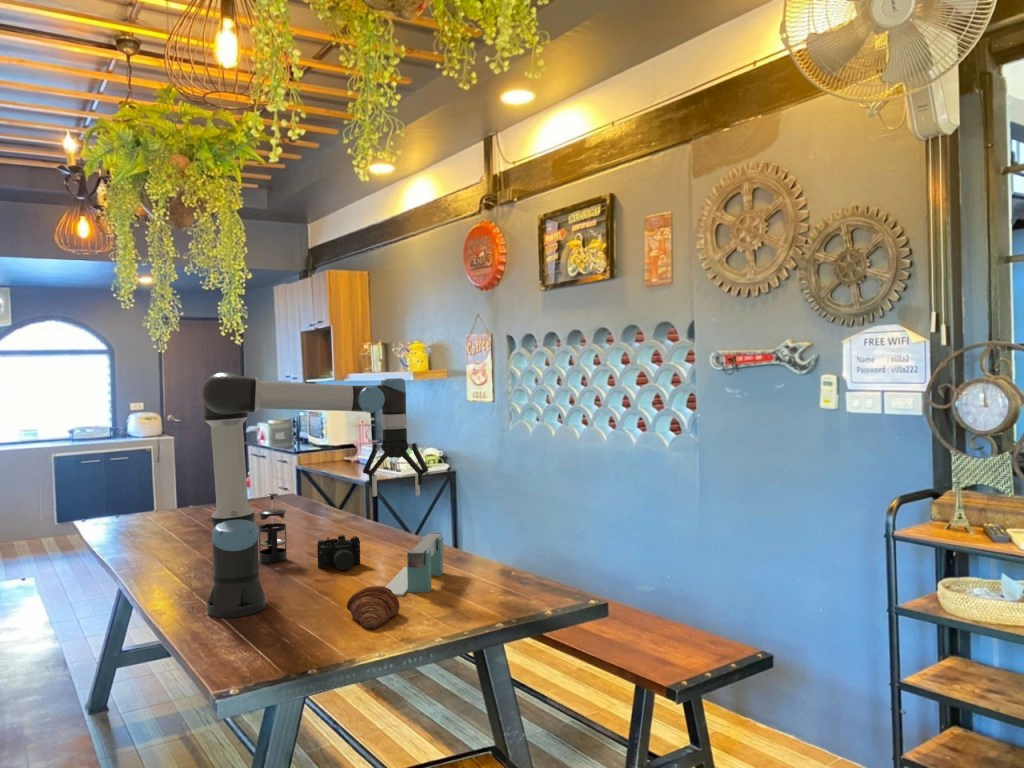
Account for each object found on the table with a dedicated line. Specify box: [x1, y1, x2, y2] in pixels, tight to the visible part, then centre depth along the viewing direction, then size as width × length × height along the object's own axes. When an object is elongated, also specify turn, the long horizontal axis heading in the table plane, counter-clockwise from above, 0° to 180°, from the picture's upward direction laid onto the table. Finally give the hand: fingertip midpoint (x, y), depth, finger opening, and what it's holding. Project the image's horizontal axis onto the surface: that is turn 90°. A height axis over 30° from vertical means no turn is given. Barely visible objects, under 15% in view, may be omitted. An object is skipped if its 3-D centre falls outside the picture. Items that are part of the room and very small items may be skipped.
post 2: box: [420, 535, 444, 577], centre depth 239 cm, size 4×6×12 cm, turn 84°
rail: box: [408, 532, 442, 568], centre depth 230 cm, size 28×4×4 cm, turn 174°
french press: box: [258, 493, 288, 565], centre depth 259 cm, size 12×9×23 cm
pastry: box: [346, 585, 400, 630], centre depth 198 cm, size 17×15×8 cm
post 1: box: [406, 549, 432, 593], centre depth 221 cm, size 4×6×12 cm, turn 84°
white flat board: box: [385, 566, 408, 597], centre depth 231 cm, size 30×7×1 cm, turn 174°
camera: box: [316, 534, 361, 571], centre depth 248 cm, size 14×11×10 cm
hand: (396, 495), depth 234 cm, fingers open, 13 cm apart
